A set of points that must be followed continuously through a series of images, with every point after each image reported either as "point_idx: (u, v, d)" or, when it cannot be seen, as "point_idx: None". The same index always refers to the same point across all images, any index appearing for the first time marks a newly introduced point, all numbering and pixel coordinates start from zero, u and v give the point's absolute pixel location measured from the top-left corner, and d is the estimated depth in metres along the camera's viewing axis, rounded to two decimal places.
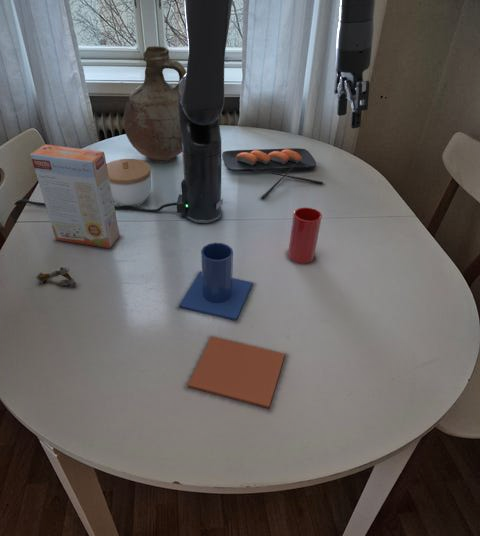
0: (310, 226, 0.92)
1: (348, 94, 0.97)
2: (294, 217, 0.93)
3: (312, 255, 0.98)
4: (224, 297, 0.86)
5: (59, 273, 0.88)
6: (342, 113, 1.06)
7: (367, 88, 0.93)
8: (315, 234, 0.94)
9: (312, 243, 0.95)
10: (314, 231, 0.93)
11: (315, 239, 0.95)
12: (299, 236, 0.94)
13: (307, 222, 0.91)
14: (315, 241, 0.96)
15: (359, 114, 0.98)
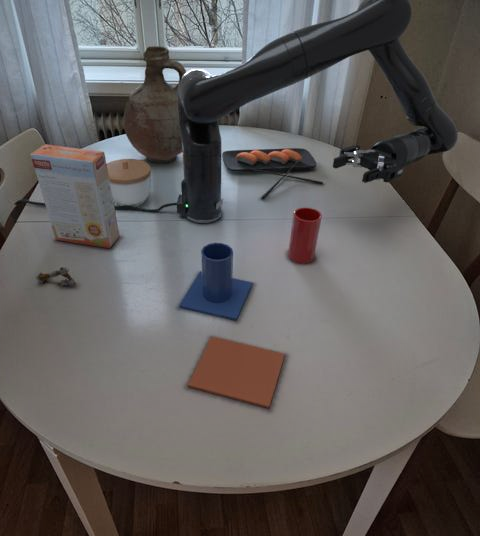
0: (310, 226, 0.92)
1: (381, 160, 0.94)
2: (294, 217, 0.93)
3: (312, 255, 0.98)
4: (224, 297, 0.86)
5: (59, 273, 0.88)
6: (336, 164, 0.96)
7: (399, 175, 0.95)
8: (315, 234, 0.94)
9: (312, 243, 0.95)
10: (314, 231, 0.93)
11: (315, 239, 0.95)
12: (299, 236, 0.94)
13: (307, 222, 0.91)
14: (315, 241, 0.96)
15: (376, 177, 0.92)
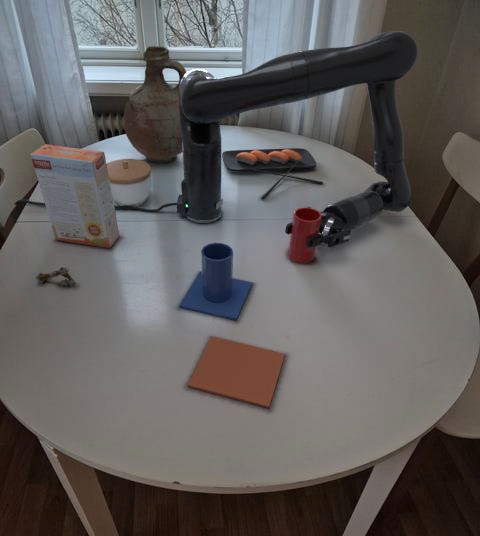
0: (310, 226, 0.92)
1: (331, 225, 0.96)
2: (294, 217, 0.93)
3: (312, 255, 0.98)
4: (224, 297, 0.86)
5: (59, 273, 0.88)
6: (289, 230, 0.97)
7: (345, 240, 0.96)
8: (315, 234, 0.94)
9: None
10: (314, 231, 0.93)
11: None
12: (299, 236, 0.94)
13: (307, 222, 0.91)
14: None
15: (320, 242, 0.95)
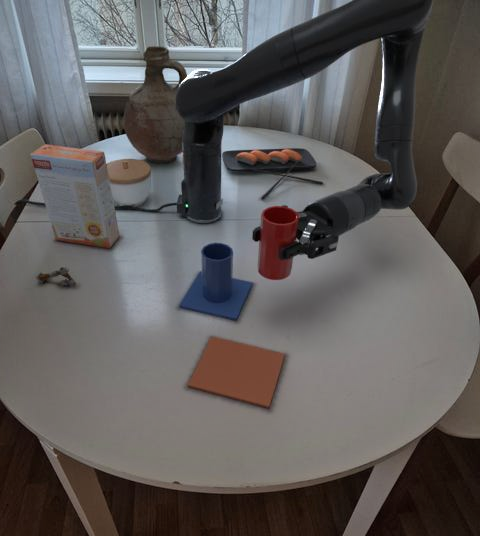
0: (283, 231, 0.68)
1: (312, 229, 0.72)
2: (262, 219, 0.69)
3: (288, 269, 0.74)
4: (224, 297, 0.86)
5: (59, 273, 0.88)
6: (257, 236, 0.73)
7: (332, 250, 0.73)
8: (290, 242, 0.70)
9: None
10: (289, 238, 0.69)
11: None
12: (269, 244, 0.70)
13: (279, 226, 0.67)
14: None
15: (298, 253, 0.71)
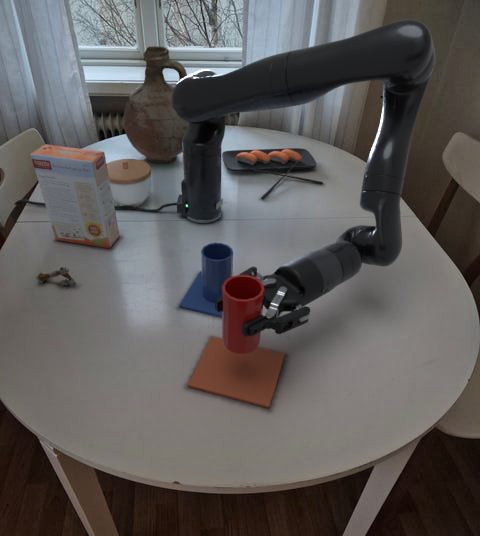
0: (245, 307, 0.61)
1: (281, 300, 0.65)
2: (222, 292, 0.62)
3: (255, 342, 0.67)
4: None
5: (59, 273, 0.88)
6: (219, 306, 0.66)
7: (302, 322, 0.65)
8: (255, 316, 0.63)
9: None
10: (253, 313, 0.62)
11: None
12: (231, 319, 0.63)
13: (240, 302, 0.60)
14: None
15: (264, 328, 0.63)
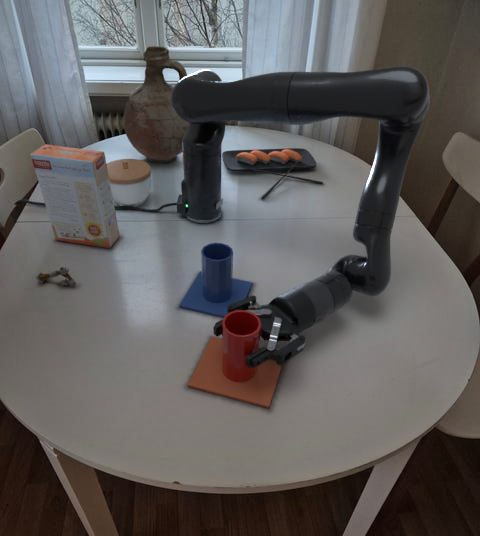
0: (243, 342, 0.66)
1: (275, 331, 0.70)
2: (222, 327, 0.67)
3: (252, 371, 0.72)
4: (224, 297, 0.86)
5: (59, 273, 0.88)
6: (218, 331, 0.71)
7: (299, 351, 0.70)
8: (253, 349, 0.68)
9: None
10: (250, 347, 0.67)
11: None
12: (230, 352, 0.68)
13: (239, 337, 0.65)
14: None
15: (266, 359, 0.68)
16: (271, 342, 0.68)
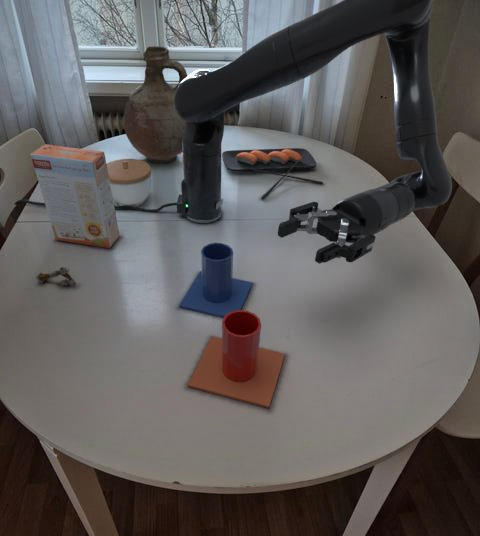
0: (243, 342, 0.66)
1: (344, 229, 0.67)
2: (222, 327, 0.67)
3: (252, 371, 0.72)
4: (224, 297, 0.86)
5: (59, 273, 0.88)
6: (283, 231, 0.69)
7: (368, 250, 0.68)
8: (253, 349, 0.68)
9: (250, 360, 0.69)
10: (250, 347, 0.67)
11: (254, 354, 0.69)
12: (230, 352, 0.68)
13: (239, 337, 0.65)
14: (254, 356, 0.69)
15: (336, 255, 0.65)
16: (341, 239, 0.66)
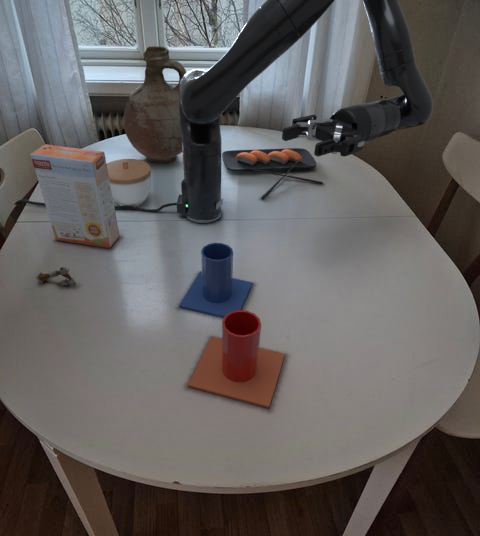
0: (243, 342, 0.66)
1: (338, 130, 0.79)
2: (222, 327, 0.67)
3: (252, 371, 0.72)
4: (224, 297, 0.86)
5: (59, 273, 0.88)
6: (286, 135, 0.81)
7: (359, 148, 0.79)
8: (253, 349, 0.68)
9: (250, 360, 0.69)
10: (250, 347, 0.67)
11: (254, 354, 0.69)
12: (230, 352, 0.68)
13: (239, 337, 0.65)
14: (254, 356, 0.69)
15: (332, 150, 0.77)
16: (336, 137, 0.78)
